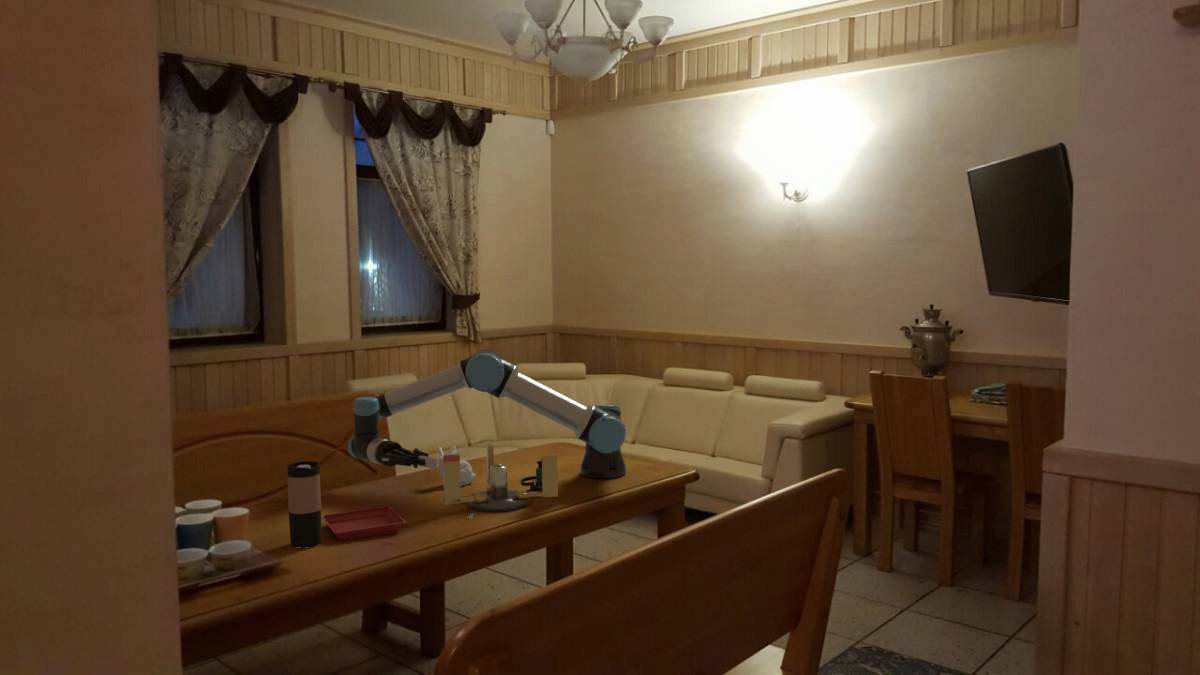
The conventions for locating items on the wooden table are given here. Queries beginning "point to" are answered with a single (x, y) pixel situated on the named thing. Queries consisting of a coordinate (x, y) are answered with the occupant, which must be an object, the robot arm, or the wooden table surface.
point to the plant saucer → (364, 522)
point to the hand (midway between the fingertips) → (434, 463)
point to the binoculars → (538, 476)
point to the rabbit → (465, 468)
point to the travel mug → (304, 504)
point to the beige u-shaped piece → (456, 482)
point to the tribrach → (514, 499)
